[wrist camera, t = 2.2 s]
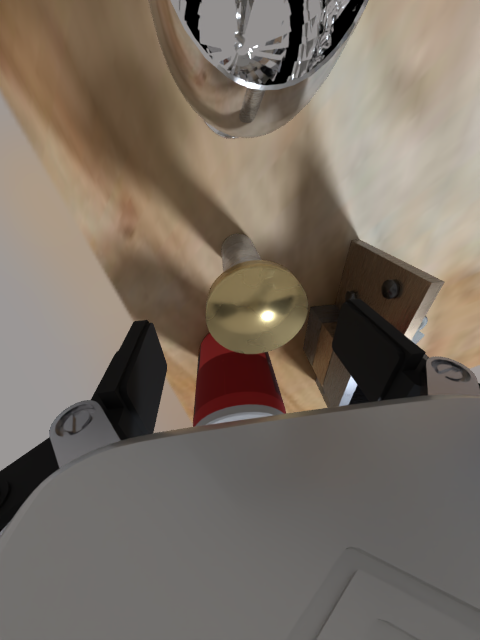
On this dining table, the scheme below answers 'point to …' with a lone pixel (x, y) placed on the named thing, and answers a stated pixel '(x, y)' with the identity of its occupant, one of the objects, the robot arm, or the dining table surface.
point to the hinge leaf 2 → (332, 362)
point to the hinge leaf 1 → (379, 295)
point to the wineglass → (252, 56)
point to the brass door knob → (253, 301)
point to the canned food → (234, 385)
